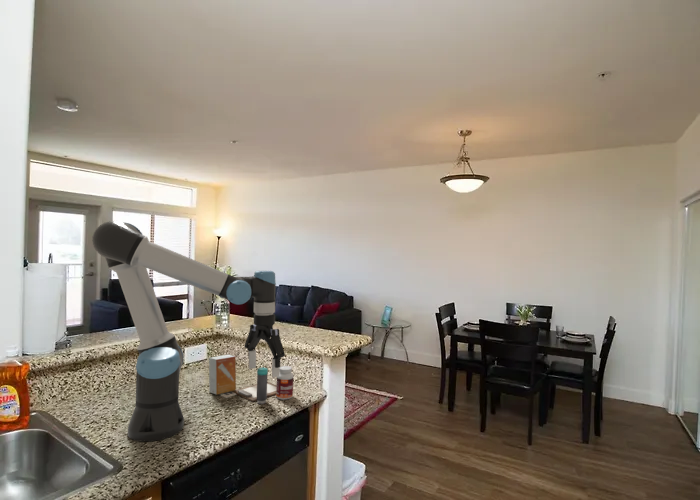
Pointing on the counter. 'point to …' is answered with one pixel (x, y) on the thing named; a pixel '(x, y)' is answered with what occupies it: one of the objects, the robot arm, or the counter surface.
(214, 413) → the counter surface
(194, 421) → the counter surface
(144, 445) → the counter surface
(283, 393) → the pill bottle
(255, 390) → the clipboard
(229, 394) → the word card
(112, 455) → the counter surface
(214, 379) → the small box
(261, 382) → the marker
